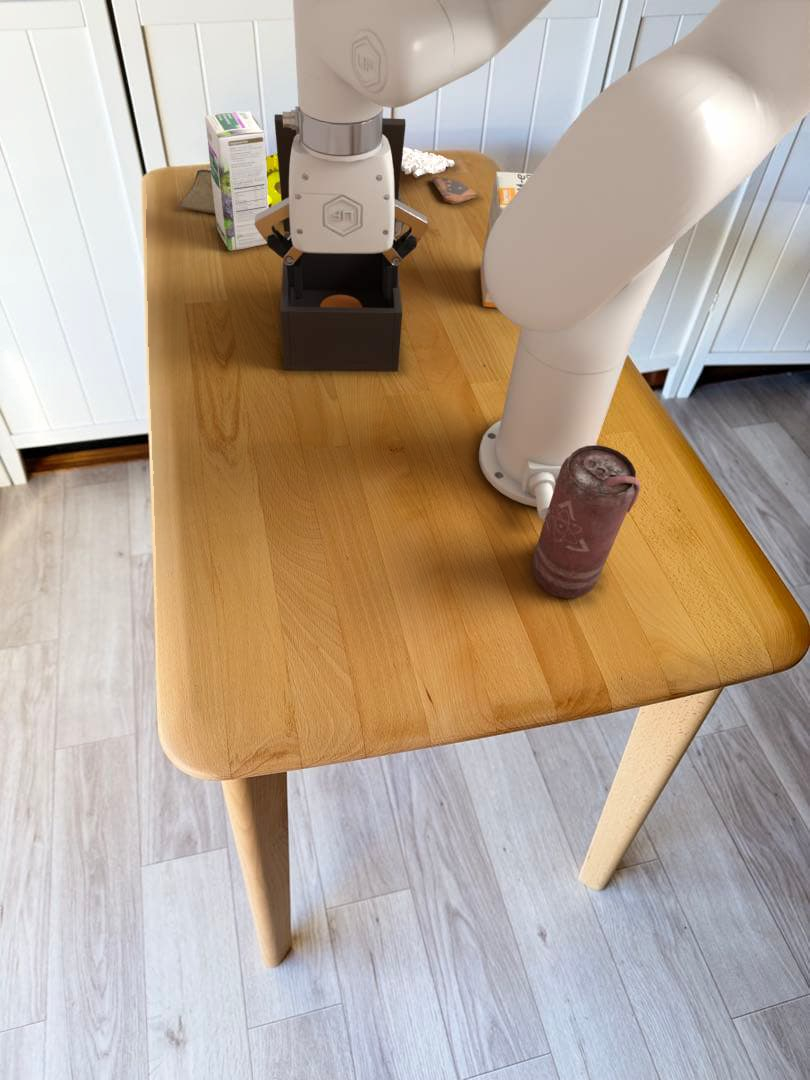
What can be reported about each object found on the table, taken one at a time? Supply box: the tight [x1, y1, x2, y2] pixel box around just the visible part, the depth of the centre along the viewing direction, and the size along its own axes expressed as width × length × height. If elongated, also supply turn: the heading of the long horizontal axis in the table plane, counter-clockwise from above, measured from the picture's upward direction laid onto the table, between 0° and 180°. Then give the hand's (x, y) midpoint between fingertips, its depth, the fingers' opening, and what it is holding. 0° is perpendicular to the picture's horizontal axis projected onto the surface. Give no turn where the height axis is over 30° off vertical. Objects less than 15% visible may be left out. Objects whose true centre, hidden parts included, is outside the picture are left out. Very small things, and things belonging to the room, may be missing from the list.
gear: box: [266, 153, 281, 208], centre depth 107 cm, size 8×4×8 cm
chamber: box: [279, 232, 403, 372], centre depth 92 cm, size 15×13×8 cm
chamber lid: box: [274, 114, 407, 234], centre depth 86 cm, size 15×13×5 cm
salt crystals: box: [401, 146, 456, 179], centre depth 114 cm, size 20×20×2 cm
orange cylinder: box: [320, 295, 362, 308], centre depth 90 cm, size 5×5×4 cm
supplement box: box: [479, 171, 532, 309], centre depth 97 cm, size 8×5×13 cm, turn 179°
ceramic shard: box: [178, 169, 216, 215], centre depth 107 cm, size 10×5×2 cm
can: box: [531, 444, 642, 599], centre depth 69 cm, size 6×6×14 cm
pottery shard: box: [431, 176, 478, 205], centre depth 115 cm, size 7×1×5 cm
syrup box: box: [204, 110, 269, 252], centre depth 100 cm, size 6×6×14 cm
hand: (343, 291), depth 87 cm, fingers open, 9 cm apart
